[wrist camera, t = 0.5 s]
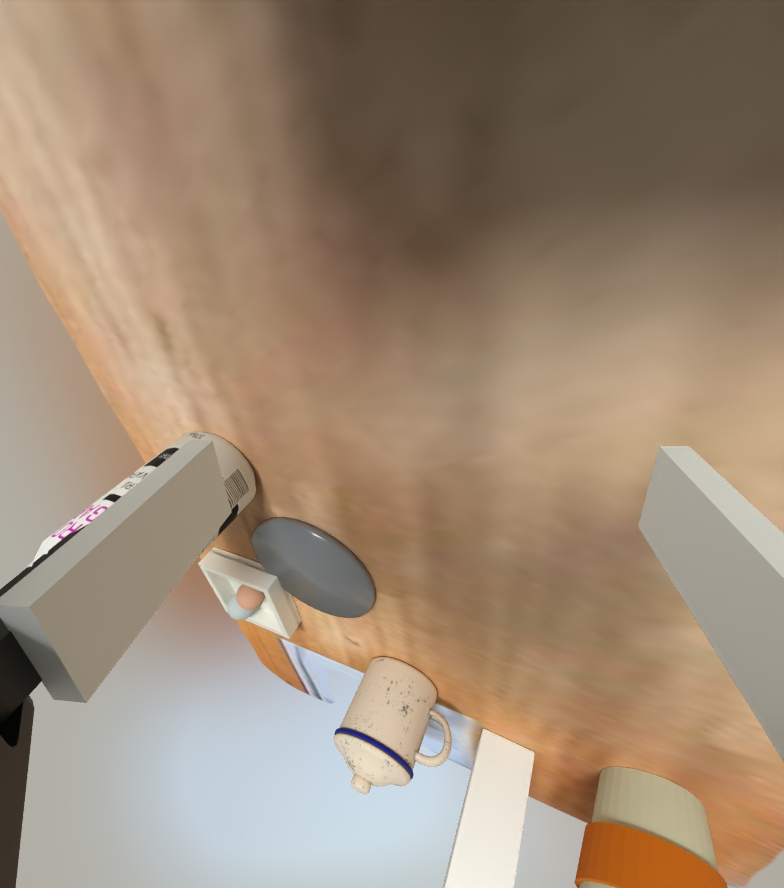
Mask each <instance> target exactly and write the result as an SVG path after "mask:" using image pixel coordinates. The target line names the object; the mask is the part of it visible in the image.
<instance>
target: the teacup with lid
mask: <svg viewBox="0 0 784 888" xmlns="http://www.w3.org/2000/svg"><path fill="white" fill-rule="evenodd" d="M436 698H437V691H436V688H435V686H434V685H433V683H432V682H431V681H430V680H429V679H428V678H427V677H426V676H425V675H424V674H423V673H421V672H420V671H419V670H417V669H415V668H414V667H412V666H410V665H409V664H407V663H404V662H402V661H400V660H397V659H394V658H390V657H376V658H374V659H373V660H372V661H371V662H370V664H369V666H368V668H367V670H366V673H365V675H364V677H363V679H362V681H361V683H360V686H359V688H358V690H357V692H356V694H355V696H354V698H353V700H352V703H351V705H350V707H349V709H348V711H347V713H346V715H345V718H344V719H343V722H342V724H341V726H340V728H339V729H337V730H336V731H335V736H334V743H335V746H336V747H337V749H338V750H339V752H341V754H342V755H343V756H344V759H345V761H346V763H347V766H348V768H349V769H350V770H351V772H352V773H353V774H354V777H353V778H352V781H351V784H352V786H353V788H355V789H356V790H357V791H359V792H361V793H363V794H367V793H368V792H369V791H370V788H371V785H373V786H385V785H390V784H393V785H397V786H405V785H407V784H408V783H409V782H410V780H411V779H412V778H413V768H414V765H415V762H418V763H420V764H422V765H424V766H428V767H436V766H439V765H441V764H442V763H444V762H445V761H446V760H447V758H448V756H449V754H450V750H451V742H452V739H451V732H450V728H449V725H448V723H447V721H446V720H445V718H444V717H443V716H442V715H441V714H439V713H438V712H436V711H434V710H433V707H434V704H435V701H436ZM429 719H432V720H434V721H436V722H438V723H439V724H440V725H441V726H442V728H443V730H444V734H445V740H444V746H443V749H442V751H441V752H440V753H439V754H438V755H436V756H433V757H429V756H425V755H423V754H420V753H419V750H420V747H421V743H422V740H423V737H424V734H425V731H426V728H427V725H428V722H429Z"/></svg>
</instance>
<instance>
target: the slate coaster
mask: <svg viewBox="0 0 784 888" xmlns="http://www.w3.org/2000/svg"><path fill="white" fill-rule="evenodd" d="M252 545H253V550H254V552H255V555H256V557H257V559H258V560H259V562H260V564H261V565H262V567H263V568H264V569H265V570H266V572H267V573H268V574H271V575H274V576H277V577H278V579H279V582H280V584H281V586H282V588H283V589H285V590H286V591H287V592H288V593H290V594H291V595H293V596H294V597H296V598H297V599H299V600H300V601H302V602H304V603H305V604H307V605H309V606H311V607H313V608H315V609H317V610H319V611H322V612H324V613H327V614H330V615H334V616H338V617H344V618H356V617H360V616H363V615H365V614H366V613H367V612H368V611H369V610H370V609H371V607H372V605H373V603H374V600H375V597H376V589H375V585H374V582H373V580H372V577H371V575H370V574H369V572H368V570H367V569H366V567H365V566H364V565H363V563H362V562H361V561H360V560H359V559H358V558H357V557H356V555H354V554H353V553H352V552H351V551H350V550H349V549H348V548H347V547H346V546H345V545H343V544H342V543H341V542H339V541H338V540H337V539H335V538H334V537H332V536H331V535H329V534H328V533H326V532H324V531H323V530H321V529H319V528H317V527H315V526H312V525H310V524H308V523H305V522H302V521H299V520H296V519H292V518H285V517H275V518H270V519H267V520H265V521H264V522H262V523H261V524H260V525H259V527H258V528H257V529H256V530H255V531H254V533H253V536H252Z"/></svg>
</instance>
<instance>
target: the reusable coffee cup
mask: <svg viewBox="0 0 784 888" xmlns="http://www.w3.org/2000/svg"><path fill="white" fill-rule="evenodd" d="M575 884H576V886H577V888H727V884H726V882H725V880H724V878H723V877H722V876H721V875H720V874H719V873H718V868H717V863H716V858H715V854H714V849H713V844H712V840H711V835H710V830H709V826H708V821H707V816H706V812H705V808H704V806H703V804H702V803H701V801H700V800H699V799H698V798H697V797H695V796H694V795H693V794H692V793H690V792H689V791H687V790H686V789H684V788H682V787H681V786H679V785H677V784H675V783H673V782H671V781H669V780H667V779H664V778H662V777H659V776H657V775H654V774H651V773H648V772H645V771H641V770H637V769H632V768H626V767H608V768H605V769H603V770H602V771H601V773H600V779H599V784H598V789H597V795H596V800H595V805H594V811H593V816H592V822H591V823H589V824H587V825H586V827H585V833H584V838H583V843H582V848H581V854H580V858H579V864H578V869H577V874H576V880H575Z"/></svg>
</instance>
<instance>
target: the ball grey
mask: <svg viewBox="0 0 784 888" xmlns="http://www.w3.org/2000/svg"><path fill="white" fill-rule="evenodd" d="M227 610H228V613H229V615H230V616H231V617H232V618H233V619H235V620H244V619H247V618H248V617H249V616H251V614H252V613H253V611H254V609H253V610H246V609H243V608H242V607H240V606H239V604H238V603H237V600H236V594H235V595H234V596H233V597H232V598H231V599H230V600H229V602H228V606H227Z"/></svg>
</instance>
